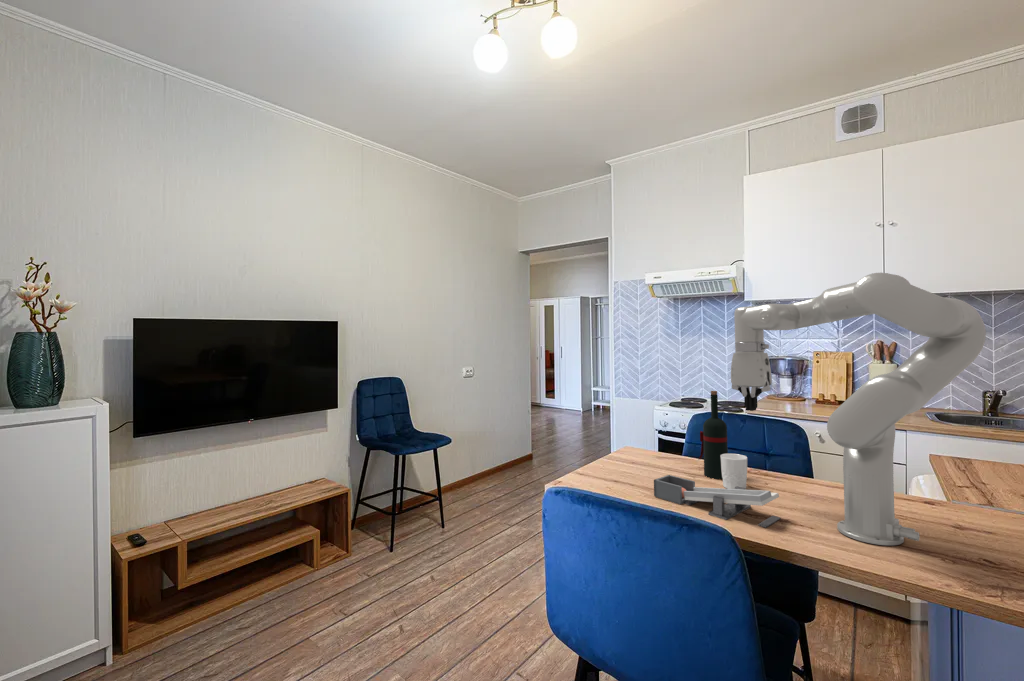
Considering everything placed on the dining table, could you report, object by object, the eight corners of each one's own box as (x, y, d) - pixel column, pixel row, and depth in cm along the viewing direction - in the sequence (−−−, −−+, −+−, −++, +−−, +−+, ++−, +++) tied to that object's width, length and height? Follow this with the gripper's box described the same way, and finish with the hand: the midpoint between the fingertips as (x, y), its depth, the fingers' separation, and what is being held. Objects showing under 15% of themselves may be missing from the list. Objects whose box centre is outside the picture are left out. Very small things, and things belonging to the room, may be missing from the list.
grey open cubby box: (695, 498, 135) (694, 481, 135) (680, 504, 130) (680, 486, 130) (669, 490, 142) (668, 474, 142) (654, 496, 138) (653, 479, 138)
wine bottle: (705, 470, 164) (702, 388, 164) (732, 476, 156) (730, 390, 156) (693, 474, 159) (691, 390, 160) (721, 480, 151) (719, 392, 151)
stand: (784, 516, 120) (784, 497, 120) (761, 530, 112) (760, 509, 112) (704, 494, 138) (704, 478, 138) (679, 505, 130) (678, 487, 130)
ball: (681, 484, 136) (678, 493, 137) (675, 486, 134) (672, 495, 135) (690, 490, 134) (687, 499, 135) (684, 492, 132) (681, 501, 133)
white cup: (742, 483, 148) (741, 453, 148) (752, 491, 140) (751, 459, 141) (717, 483, 149) (716, 453, 149) (726, 491, 141) (725, 459, 141)
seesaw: (779, 496, 119) (777, 487, 120) (762, 505, 113) (760, 496, 114) (703, 492, 136) (701, 484, 137) (685, 499, 130) (683, 491, 131)
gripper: (782, 347, 128) (784, 411, 128) (730, 348, 140) (732, 406, 140) (770, 348, 123) (772, 414, 123) (718, 348, 135) (719, 409, 135)
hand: (751, 410), depth 132 cm, fingers closed
